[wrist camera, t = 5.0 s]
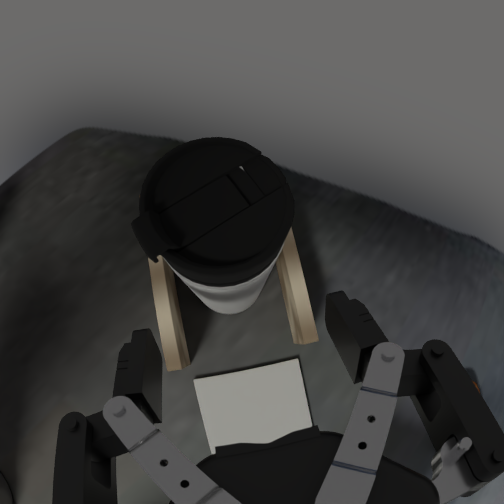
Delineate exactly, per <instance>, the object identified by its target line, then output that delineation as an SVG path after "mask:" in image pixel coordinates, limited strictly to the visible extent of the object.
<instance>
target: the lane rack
mask: <svg viewBox="0 0 504 504" xmlns="http://www.w3.org/2000/svg"><path fill="white" fill-rule="evenodd" d="M139 198H140V195H139ZM157 258H158V260H159V262H157V263H154V262H153V261H152V260H151V259H149V257H148V259H149V267H150V274H151V281H152V288H153V295H154V301H155V307H156V313H157V319H158V325H159V330H160V336H161V341H162V346H163V352H164V357H165V361H166V366H167V371H173V370H180V369H183V368H185V367H187V366H188V365H190V364H191V363H190V359H189V354H188V349H187V344H186V339H185V334H184V329H183V323H182V318H181V312H180V307H179V301H178V295H177V289H176V283H175V277H174V271H173V270H172V269H171V267H170V266H169V265H168V263H167V262H166V261H165V260H164V258H163V257H162V256H161V255H159V256H158V257H157ZM276 266H277V270H278V275H279V279H280V284H281V288H282V292H283V297H284V301H285V305H286V310H287V314H288V319H289V323H290V328H291V332H292V337H293V341H294V343H295V344H308V343H312V342H316V341H319V340H318V336H317V331H316V327H315V322H314V318H313V313H312V309H311V305H310V301H309V296H308V292H307V288H306V284H305V280H304V275H303V271H302V267H301V263H300V259H299V255H298V251H297V247H296V243H295V239H294V235H293V232H292V228H290V230H289V233H288V235H287V237H286V239H285V242H284V246H283V248H282V250H281V252H280V254H279V256H278V258H277V260H276Z"/></svg>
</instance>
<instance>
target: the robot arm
mask: <svg viewBox="0 0 504 504" xmlns="http://www.w3.org/2000/svg"><path fill="white" fill-rule="evenodd" d="M325 323H326V327H327V330H328V333H329V335H330V337H331V339H332V341H333V343H334V345H335V347H336V348H337V350H338V352H339V354H340V356H341V358H342V360H343V363H344V365H345V367H346V369H347V371H348V373H349V375H350V377H351V379H352V381H353V383H354V384H355V383H359V382H362V383H363V384H362V387H361V389H360V391H359V394H358V397H357V400H356V403H355V406H354V409H353V412H352V414H351V417H350V420H349V423H348V425H347V428H346V431H345V433H344V435H342V434H339V433H336V432H330V431H319V429H318V426H317V425H316V426H312V427H309V428H305V429H301V430H297V431H293V432H291V433H289V434H287V435H285V436H283V437H281V438H278V439H276V440H274V441H272V442H270V443H235V444H229V445H223V446H216V447H215V452H216V453H215V454H212V455H210V456H208V457H206V458H205V459H203V460H202V461H201V462H200V463H198V464H197V465H194V464H193V463H192V462H191V461H190V460H189V459H188V458H187V457H186V456H185V455H184V454H183V453H182V452H181V451H180V450H179V449H178V448H177V447H176V446H175V445H174V444H173V443H172V442H171V441H170V440H169V439H168V438H167V437H166V436H165V435H164V434H163V433H162V432H161V431H160V430H159V429H157V428H156V427H155V426H154V423H162V356H161V353H160V350H159V348H158V346H157V343H156V341H155V339H154V336H153V334H152V332H151V330H150V329H149V328H148V329H141V330H135V331H133V333H132V340H131V343H125V344H124V345H123V347H122V349H121V350H120V352H119V357H118V363H117V371H116V376H115V383H114V390H113V397H112V399H110V400H109V401H108V402H107V403H106V404H105V406H104V408H103V410H102V411H101V412H98V413H96V414H93V415H90V416H87V417H85V416H84V415H83V414H81V413H79V412H71V413H68V414H67V415H65V416H64V417H63V418H62V420H61V421H60V424H59V430H58V438H57V446H56V456H55V467H54V480H53V501H52V504H117V485H116V456H119V455H122V454H124V453H127V452H129V453H130V454H131V455H132V456H133V458H134V459H135V460H136V461H137V463H138V464H139V465H140V466H141V467H142V468H143V470H144V471H145V472H146V473H147V474H148V475H149V476H150V478H151V479H152V480H153V481H154V482H155V483H156V484H157V485H158V486H159V487H160V489H161V490H162V491H163V492H164V493H165V494H166V495H167V496H168V497H169V498H170V499H171V501H170V502H169V504H447V503H449V502H451V501H452V500H454V499H456V498H458V497H460V496H461V497H468V496H471V495H472V494H474V493H475V492H477V491H478V490H480V489H481V488H483V487H484V486H485V485H487V484H488V483H489V482H491V481H492V480H493V479H495V478H496V477H497V476H499V475H500V474H501V473H503V472H504V434H503V432H502V430H501V428H500V426H499V425H498V423H497V421H496V419H495V418H494V416H493V414H492V412H491V411H490V409H489V407H488V406H487V404H486V402H485V401H484V399H483V397H482V396H481V394H480V392H479V391H478V389H477V388H476V386H475V384H474V383H473V381H472V380H471V378H470V377H469V375H468V374H467V372H466V370H465V369H464V367H463V366H462V364H461V363H460V361H459V360H458V358H457V357H456V355H455V354H454V352H453V351H452V349H451V348H450V347H449V345H448V344H447V343H445V342H443V341H441V340H430V341H427V342H426V343H425V344H424V345H423V348H422V349H417V350H403V349H402V348H401V347H400V346H399V345H397V344H395V343H391V342H389V341H388V339H387V338H386V336H385V335H384V333H383V332H382V330H381V329H380V327H379V326H378V324H377V323H376V321H375V320H374V319H373V317H372V316H371V314H369V311H368V310H367V308H366V307H365V305H364V304H362V303H361V302H359V301H358V300H356V299H352V300H349V299H348V297H347V296H346V294H345V293H344V291H338V292H334V293H329V294H327V295H326V309H325ZM400 396H410V397H411V399H412V401H413V403H414V405H415V407H416V410H417V412H418V414H419V416H420V418H421V420H422V422H423V424H424V426H425V428H426V430H427V432H428V434H429V437H430V439H431V441H432V443H433V445H434V447H435V450H436V452H437V453H436V454H435V455H434V457H433V459H432V462H431V467H432V471H433V476H432V480H430V479H428V478H427V477H425V476H423V475H421V474H419V473H417V472H415V471H413V470H411V469H409V468H407V467H404V466H402V465H400V464H398V463H396V462H394V461H392V460H390V459H388V458H387V457H385V456H383V455H382V453H383V450H384V446H385V443H386V440H387V436H388V433H389V429H390V425H391V422H392V418H393V414H394V410H395V406H396V402H397V397H400ZM0 504H13V499H12V494H11V491H10V489H9V486H8V484H7V482H6V480H5V479H4V477H3V476H2V474H1V473H0Z"/></svg>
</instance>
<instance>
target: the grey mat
mask: <svg viewBox="0 0 504 504" xmlns="http://www.w3.org/2000/svg"><path fill="white" fill-rule="evenodd" d="M194 385H195V389H196V393H197V398H198V402H199V406H200V410H201V414H202V418H203V422H204V426H205V430H206V434H207V438H208V442H209V445H210V449H211V453H212V454H215V453H216V452H215V447H216V446H223V445H229V444H235V443H270V442H272V441H274V440H276V439H278V438H281V437H283V436H285V435H287V434H289V433H291V432H293V431H297V430H301V429H305V428H309V427H312V422H311V418H310V413H309V408H308V403H307V398H306V394H305V389H304V384H303V379H302V375H301V370H300V365H299V361H298V358H296V359H292V360H288V361H284V362H280V363H275V364H271V365H266V366H262V367H257V368H253V369H248V370H243V371H238V372H233V373H227V374H222V375H216V376H211V377H205V378H199V379H194Z"/></svg>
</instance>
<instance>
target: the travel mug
mask: <svg viewBox="0 0 504 504" xmlns="http://www.w3.org/2000/svg"><path fill="white" fill-rule="evenodd" d="M139 211H140V216H139V217H138V218H136V219H135V220H133V221H132V223H131V225H132V228H133V231H134V233H135V235H136V237H137V239H138V241H139V243H140V245H141V247H142V248H143V250H144V251H145V253H146V254H147V256H148V257H149V259H151V260H152V261H153V262H154V263H157V262H159V260H158V258H157V257H158V256H159V255H161V256H162V257H163V258H164V260H165V261H166V262H167V263H168V265H169V266H170V267H171V269H172V270H173V271H174V272H175V273H176V274H177V275H178V276H179V277H180V278H181V279H182V280H183V282H184V283H185V284H186V285H187V286H188V287H189V288H190V289H191V290H192V291H193V292H194V293H195V294H196V295H197V296H198V297H199V298H200V299H201V300H202V301H203V303H204V304H205V305H206V306H208V307H209V308H210V309H212V310H214V311H216V312H218V313H221V314H229V315H230V314H237V313H240V312H243V311H245V310H246V309H248V308H249V307H250V306H252V305H253V304H254V302H255V301H256V300H257V298H258V296H259V294H260V292H261V290H262V288H263V286H264V284H265V282H266V280H267V278H268V276H269V274H270V272H271V270H272V268H273V266H274V264H275V262H276V260H277V258H278V256H279V254H280V252H281V250H282V248H283V246H284V242H285V239H286V237H287V235H288V233H289V230H290V228H291V225H292V221H293V217H294V199H293V196H292V193H291V191H290V188H289V185H288V183H286V178H285V177H284V175H283V174H282V172H281V171H280V169H279V168H278V167H277V166H276V165H275V164H274V163H273V162H272V161H271V160H270V159H269V158H268V157H265V156H263V155H261V151H259V150H257V149H256V148H254V147H252V146H251V145H249V144H248V143H246V142H243V141H239V140H235V139H231V138H222V137H211V138H202V139H197V140H192V141H189V142H187V143H184V144H182V145H179V146H177V147H176V148H174V149H172V150H171V151H169V152H168V153H166V154H165V155H164V156H163V157H162V158H161V159H159V160H158V161H157V162H156V164H155V165H154V166H153V167H152V169H151V170H150V171H149V173H148V175H147V177H146V179H145V181H144V183H143V185H142V189H141V194H140V198H139Z"/></svg>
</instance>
